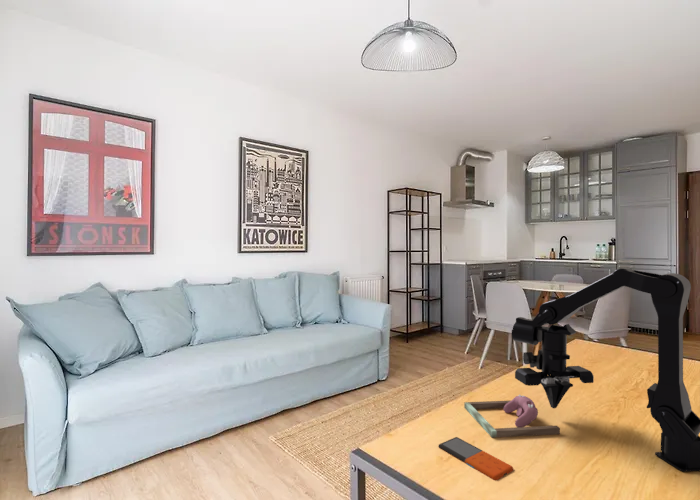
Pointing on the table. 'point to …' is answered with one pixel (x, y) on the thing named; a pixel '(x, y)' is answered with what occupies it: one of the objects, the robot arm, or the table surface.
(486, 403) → the u-shaped rail frame
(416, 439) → the table surface
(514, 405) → the video game controller
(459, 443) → the two-tone rubber eraser
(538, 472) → the table surface
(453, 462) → the table surface
